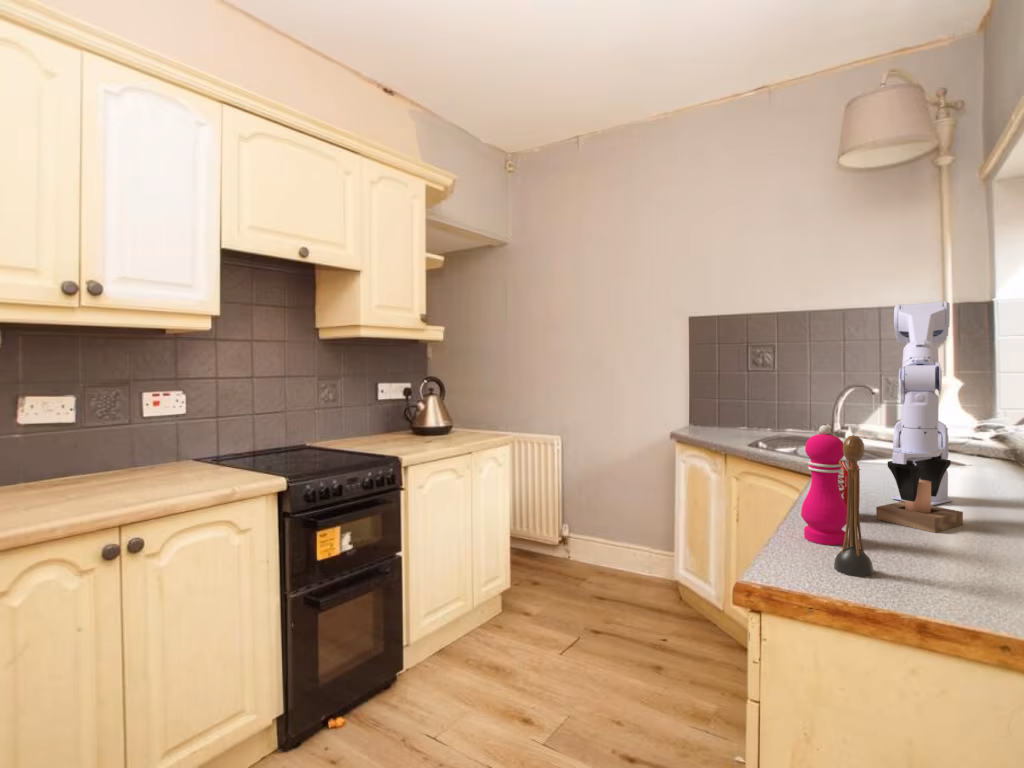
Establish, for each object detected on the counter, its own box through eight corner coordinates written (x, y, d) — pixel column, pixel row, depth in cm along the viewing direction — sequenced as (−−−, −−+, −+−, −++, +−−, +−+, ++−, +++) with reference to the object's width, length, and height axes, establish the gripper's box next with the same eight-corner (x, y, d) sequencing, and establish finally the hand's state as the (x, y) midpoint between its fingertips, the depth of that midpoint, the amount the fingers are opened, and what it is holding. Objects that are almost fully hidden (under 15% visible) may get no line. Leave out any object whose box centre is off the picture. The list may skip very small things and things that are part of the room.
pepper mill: (856, 547, 91) (856, 427, 90) (808, 545, 92) (809, 427, 92) (839, 534, 98) (839, 423, 98) (795, 532, 99) (795, 423, 99)
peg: (912, 518, 108) (913, 478, 108) (935, 523, 105) (935, 481, 104) (900, 520, 107) (900, 480, 106) (923, 526, 103) (923, 483, 103)
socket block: (904, 512, 112) (904, 500, 112) (962, 524, 103) (962, 511, 103) (876, 519, 108) (876, 506, 108) (934, 532, 99) (934, 518, 99)
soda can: (867, 521, 107) (867, 459, 106) (830, 521, 107) (831, 460, 106) (846, 511, 114) (846, 454, 113) (811, 511, 114) (811, 454, 113)
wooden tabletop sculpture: (842, 561, 85) (843, 432, 84) (877, 568, 81) (878, 434, 81) (830, 571, 80) (831, 435, 80) (867, 579, 77) (867, 438, 77)
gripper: (916, 423, 112) (916, 489, 112) (875, 427, 105) (875, 498, 106) (957, 426, 106) (956, 496, 106) (916, 431, 99) (916, 506, 99)
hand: (918, 497), depth 105 cm, fingers open, 7 cm apart
